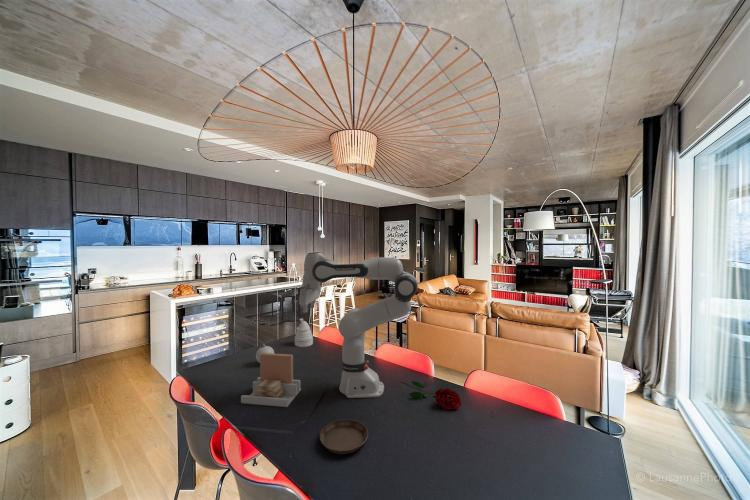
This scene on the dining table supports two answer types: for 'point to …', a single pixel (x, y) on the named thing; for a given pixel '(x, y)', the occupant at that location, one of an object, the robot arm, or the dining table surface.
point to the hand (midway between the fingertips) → (308, 310)
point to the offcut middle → (270, 393)
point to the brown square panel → (276, 367)
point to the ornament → (263, 351)
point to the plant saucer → (343, 436)
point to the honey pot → (303, 335)
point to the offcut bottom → (280, 395)
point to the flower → (439, 396)
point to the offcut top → (269, 385)
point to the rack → (290, 394)
